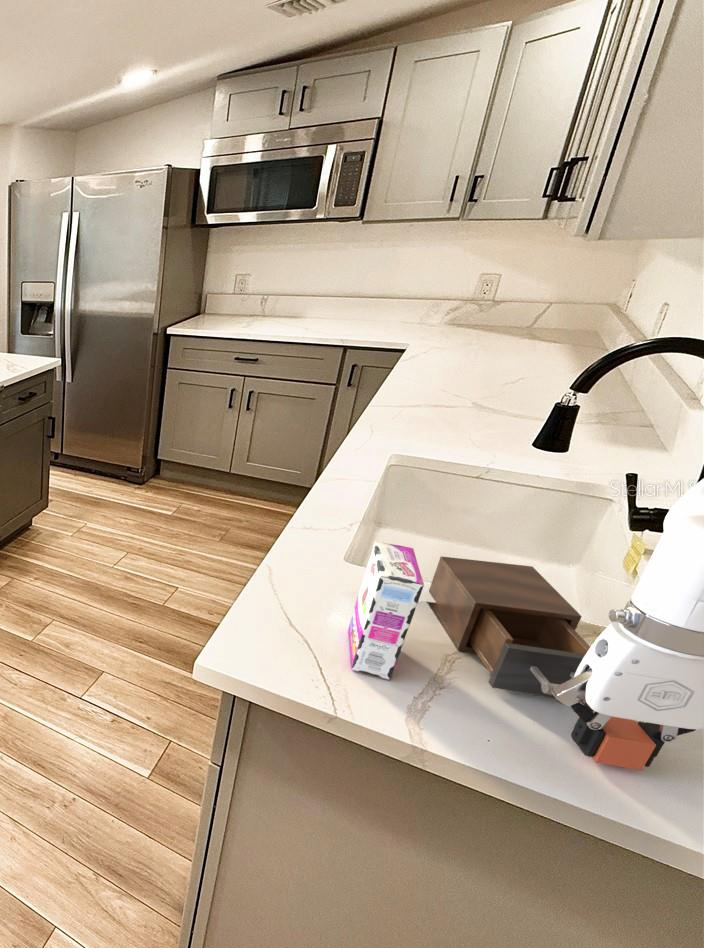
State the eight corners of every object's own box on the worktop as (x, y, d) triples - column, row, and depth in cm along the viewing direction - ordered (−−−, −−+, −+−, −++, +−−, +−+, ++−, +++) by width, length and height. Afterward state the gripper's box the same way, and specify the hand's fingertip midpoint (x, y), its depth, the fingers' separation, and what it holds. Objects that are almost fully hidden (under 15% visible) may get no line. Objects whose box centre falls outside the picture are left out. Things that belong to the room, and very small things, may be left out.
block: (620, 744, 74) (634, 719, 72) (642, 770, 70) (656, 745, 69) (576, 736, 75) (588, 712, 73) (595, 762, 72) (608, 736, 70)
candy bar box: (393, 682, 86) (426, 584, 80) (350, 671, 89) (378, 576, 82) (385, 637, 95) (415, 546, 88) (347, 629, 98) (372, 539, 91)
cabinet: (558, 665, 87) (582, 616, 84) (457, 650, 92) (475, 602, 88) (513, 611, 99) (532, 566, 95) (425, 600, 103) (440, 556, 100)
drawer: (615, 731, 76) (638, 688, 73) (507, 712, 79) (526, 671, 77) (543, 645, 90) (560, 607, 87) (455, 632, 94) (469, 596, 91)
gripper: (592, 635, 65) (532, 759, 73) (823, 664, 59) (732, 797, 66) (554, 596, 71) (503, 714, 79) (760, 619, 65) (683, 745, 73)
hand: (609, 751), depth 73 cm, fingers closed on block, 4 cm apart
